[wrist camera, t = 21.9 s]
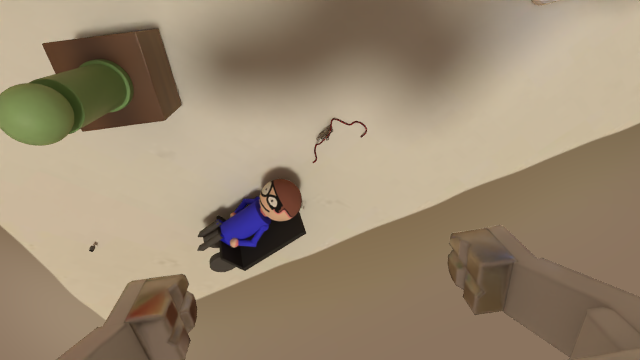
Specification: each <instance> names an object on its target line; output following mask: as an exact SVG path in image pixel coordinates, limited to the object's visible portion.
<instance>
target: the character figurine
mask: <svg viewBox="0 0 640 360" xmlns="http://www.w3.org/2000/svg"><path fill="white" fill-rule="evenodd" d="M301 202H302V198H301V193H300V191H299V189H298V188H297V186H296V185H295V184H294V183H292V182H291V181H289V180H286V179H275V180H272V181H270V182H269V183H267V184H266V185H265V186H264V187H263V189H262V191H261V193H260V197H256V198H255V199H243V201H242V202H241V204H240V205H239V206H238V208H237V209H236V210H235V212H233V213H231V215H230V218H229V219H228V220H225V219H224V218H222V217H220V216H219V215H218V216H217V220H216V221H215V222H214V223H212V224H211V225H209V226H208V227H206V228H205V229H203V230H202V231H200V233H199V235H198V237H203V238H204V243H203V244H201V245H200V246H199V248H198V250H197V251H204V250H205V249H207V248H208V247H212V248H220V252H219V253H216V254H214V255H213V256H212V257H211V258H210V268H211V269H212V270H213V271H216V272H226V271H229V270H232V269H233V268H235V267H238V268H240V269H242V270H244V271H246V270H247V269H249V268H251V267H252V266H254V265H255V264H257V263H259V262H260V261H262V260H264V259H265V258H267V257H268V256H270V255H272V254H273V253H275V252H277V251H278V250H280V249H281V248H283V247H285V246H286V245H288V244H290V243H291V242H293V241H294V240H296V239H298V238H299V237H301V236H303V235H304V234H306V231H305V228H304V225H303V222H302V219H301V216H300V213H299V209H300V207H301ZM247 204H250V205H249V206H247V207H246V205H247ZM245 207H246V208H245Z"/></svg>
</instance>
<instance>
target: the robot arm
mask: <svg viewBox="0 0 640 360" xmlns="http://www.w3.org/2000/svg"><path fill="white" fill-rule="evenodd" d="M556 1H558V0H532V2H533V3H534V4H536V5H546V4H550V3H553V2H556ZM449 244H450V246H451V247H452V249H453V250H452V251H451V253H450V254H449V255H448V267H449V272H450V275H451V277H452V280H453V281H454V283H455V285H456V286H458V287H460V288H461V289H463V290H464V294H463V297H464V299H465V300H466V302H467V304H468V305H469V307H470V308H471V310H472V312H473V313H474V314H475V315H477V314H484V313H492V312H499V311H504V313H505V314H507V315H508V316H510V317H511V318H513V319H514V320H516V321H517V322H519V323H520V324H521V325H523V326H524V327H526V328H527V329H529V330H530V331H532V332H533V333H535V334H536V335H538V336H539V337H541V338H542V339H543V340H545V341H547V342H548V343H549V344H551V345H552V346H554V347H555V348H557V349H558V350H560V351H561V352H563V353H564V354H566V355H567V356H568V357H570V358H569V360H640V297H639V296H637V295H634V294H632V293H629V292H627V291H624V290H621V289H619V288H617V287H614V286H612V285H609V284H607V283H604V282H602V281H599V280H597V279H594V278H591V277H589V276H587V275H584V274H581V273H579V272H577V271H574V270H571V269H569V268H566V267H564V266H562V265H559V264H556V263H554V262H552V261H549V260H546V259H544V258H538V259H537V258H536V257H535V256H534V255H533V254H532V253H531V252H530V251H529V250H528V249H527V248H526V247H525V246H524V245H523V244H522V243H521V242H520V241H519V240H518V239H516V238H515V236H513V235H512V234H511V233H510V232H509V231H508V230H507V229H506V228H505V227H504V226H501V225H497V226H491V227H486V228H481V229H475V230H469V231H462V232H456V233H452V234H451V236H450V241H449ZM188 285H189V283H188V280H187V278H186V276H185V275H183V274H179V275H171V276H163V277H155V278H149V279H142V280H134V281H131V282H130V283H128V284H127V286H126V287H125V289H124V291H123V292H122V294H121V296H120V298H119V299H118V301H117V303H116V304H115V306H114V308H113V310H112V311H111V313H110V315H109V317H108V318H107V320H106V322H105V323H104V325H103V326H102V327H97V328H96V329H94V330H93V331H92V332H91V333H89V334H88V335H87V336H86V337H84V338H83V339H82V340H80V341H79V342H78V343H77V344H75V345H74V346H73V347H71V348H70V349H69V350H68V351H66V352H65V353H64V354H63V355H61V356H60V357H59V358H58V359H56V360H185V357H186V353H187V351H188V347H189V343H190V338H189V336H188V333H189V332H190V331H191V330H192V329H193V327H194V326H195V322H196V318H197V306H196V300H195V298H194V295H193V294H192V293H190V292H188V291H187V288H188Z"/></svg>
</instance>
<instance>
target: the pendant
mask: <svg viewBox="0 0 640 360" xmlns="http://www.w3.org/2000/svg"><path fill="white" fill-rule="evenodd" d="M333 120H338V119H335V118H333V119H332V120H331V124H330V126H329V127H328V128H327V130H326V131H325V132H324V131H323V132H321V133H320V136H319V137H318V138H317V140H320V139H322V141H321V142H320V143H319V144H321V143H322V142H323V141H324V140H325V139H326V138H328V139H326V140H329V136H330V133H331V132H333V129H332V121H333ZM338 121H340V122H342V123H344V124H346V125H352V124H353V123H355V122H357V123H360V124H362V125H363V126H364V127H365V128H366V126H365V125H364V124H363V123H361V122H358V121H355V122H353V123H351V124H347V123H345V122H343V121H341V120H338ZM366 132H367V128H366ZM366 132H365V133H364V134H363V135H362V136H361V137H363V136H364V135H365V134H366ZM319 144H316V145H315V149H314V152H315V157H316V160H315V161H314V162H316V161H317V156H316V146H317V145H319ZM314 162H313V163H314Z"/></svg>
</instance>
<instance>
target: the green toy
mask: <svg viewBox="0 0 640 360" xmlns="http://www.w3.org/2000/svg"><path fill="white" fill-rule="evenodd" d="M133 93H134V89H133V84H132V81H131V79H130V77H129V75H128V74H127V73H126V72H125V70H124V69H122V68H121V67H120V66H119V65H117V64H115V63H114V62H111V61H108V60H104V59H95V60H91V61H87V62H85V63H83V64H82V65H81V66H80V67H79V68H76V69H73V70H69V71H65V72H62V73H58V74H54V75H51V76H47V77H43V78H40V79H36V80H33V81H31V82H30V83H25V84H19V85H15V86H12V87H10V88H8V89H6V90H5V91H4V92H2V93H1V94H0V128H1V129H2V130H3V131H4V132H5V133H6V134H7V135H8V136H10V137H11V138H13V139H15V140H17V141H19V142H22V143H25V144H29V145H49V144H53V143H56V142H58V141H60V140H62V139H63V138H64V137H66V136H67V135H68V134H71V133H74V132H76V131H77V130H79V129H81V128H83V127H84V126H86V125H88V124H90V123H91V122H93V121H95V120H96V119H98V118H100V117H102V116H103V115H105V114H107V113H109V112H116V111H119V110H121V109H123V108H124V107H126V106H127V105H128V104H129V103H130V102H131V100H132V98H133Z"/></svg>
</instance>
